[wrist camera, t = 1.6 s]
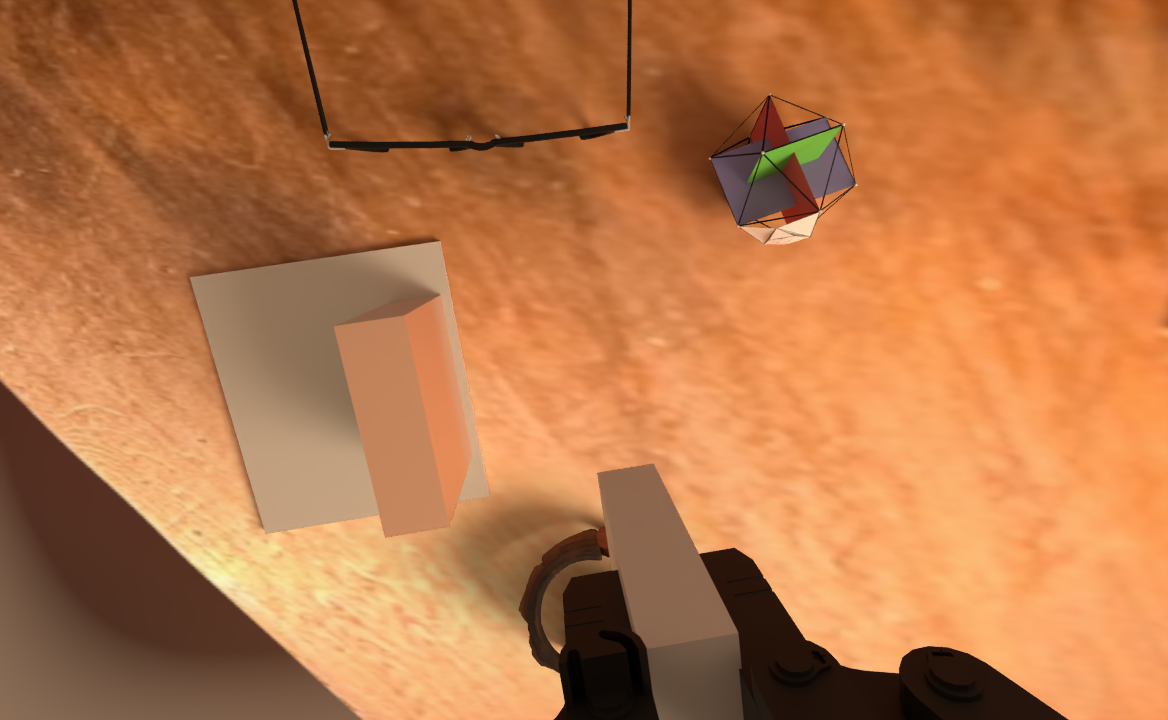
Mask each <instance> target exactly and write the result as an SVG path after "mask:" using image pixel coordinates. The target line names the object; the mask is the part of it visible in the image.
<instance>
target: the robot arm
mask: <svg viewBox="0 0 1168 720" xmlns="http://www.w3.org/2000/svg"><path fill="white" fill-rule="evenodd" d="M597 474H598V481H599V488H600V495H601V502H602V508H603V515H604V522H605V529H606V536H607V542H608V549H609V556H610V563H611V568H612V571H607V572H601V573H596V574H590V575H584V576H578V577H572V578H571V580H570V582H569V584H568V585H567V587H566V589H565V591H564V593H563V605H564V621H565V637H566V645H565V646H564V647H563V649H562V650H561V652H560V657H559V662H558V666H559V672H560V677H561V683H562V688H563V694H564V700H565V704H564V707H563V708H562V710H561V711H560V713H559V714H558V716H557V717H556V718H555V719H554V720H1068V719H1067V718H1065V717H1064V716H1062V715H1061V714H1059V713H1058V712H1056V711H1055V710H1053V709H1052V708H1051V707H1049V706H1048V705H1046V704H1045V703H1043V702H1042V701H1040V700H1039V699H1038V698H1036V697H1035V696H1033V695H1032V694H1030V693H1029V692H1027V691H1026V690H1024V689H1023V688H1022V687H1020V686H1019V685H1017V684H1016V683H1014V682H1013V681H1011V680H1010V679H1009V678H1007V677H1006V676H1004V675H1003V674H1001V673H1000V672H998V671H997V670H996V669H994V668H993V667H991V666H990V665H988V664H987V663H985V662H983V661H981V660H979V659H977V658H975V657H974V656H972V655H970V654H968V653H964V652H961V651H958V650H954V649H951V648H947V647H933V646H927V647H923V648H918V649H913V650H912V651H910V652H909V653H908V654H906V655H905V656H904V657H902V661H901V664H900V667H899V674H898V673H886V672H874V671H863V670H857V669H851V668H848V667H845V666H842V665H840V664H839V663H838V661H837V660H836V659H835V658H834V657H833V656H832V655H831V654H830V653H829V652H828V651H827V650H826V649H824V648H822V647H820V646H819V645H817V644H815V643H813V642H811V641H807V640H805V638H804V637H803V635H802V634H801V632H800V631H799V629H798V628H797V626H796V625H795V623H794V622H793V620H792V618H791V617H790V615H789V614H788V612H787V611H786V609H785V608H784V606H783V605H782V603H781V602H780V600H779V599H778V597H777V596H776V594H775V593H774V592H772V588H771V587H770V585H769V584H768V582H767V581H766V579H764V578H763V575H762V573H761V572H760V570H759V569H758V567H757V565H756V564H755V562H754V561H753V560H752V559H751V558H749V557H748V556H746V555H745V554H743V553H742V552H740V551H738V550H737V549H735V548H731V549H725V550H719V551H713V552H707V553H702V554H699V553H698V551H697V549H696V547H695V545H694V543H693V541H692V539H691V537H690V535H689V533H688V531H687V529H686V527H685V525H684V523H683V521H682V519H681V517H680V515H679V513H678V511H677V509H676V507H675V505H674V503H673V501H672V499H671V497H670V495H669V493H668V491H667V489H666V487H665V486H664V484H663V482H662V480H661V478H660V476H659V474H658V472H657V470H656V468H655V466H654V464H648V465H642V466H636V467H630V468H624V469H618V470H612V471H606V472H600V473H597Z"/></svg>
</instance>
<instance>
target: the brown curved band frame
mask: <svg viewBox="0 0 1168 720" xmlns="http://www.w3.org/2000/svg"><path fill="white" fill-rule="evenodd" d="M602 555H604V556H606V557H609V558H610V556H609V549H608V542H607V536H606V529H605V528H600V530H599V531H597V530H595V529H589V530H586V531H583V532H581V533H578V534H576V535H573V536H571V537H569V538H567V539H565V540H563V541H561V542H560V543H558V544H557V545H555V546H554V547H553V548H552V549H550V550H549V551H548V552H546V553H545V554H544V555H543V557H542V561H543V562H542V563H541V564H540V565H537V566H536V567H535V568H534V569H533V571H532V574H531V575H530V578H529V581H528V584H527V586H526V590H525V593H524V595H523V598H522V601H521V602H520V607H519V611H520V612H521V615H522V617H523V618H524V620H525V621H526V622H527V623H528V630H529V634H530V636H529V644H530V647H531V649H532V655H533V657H534V658H535V659H536V661H537V662H538V663H539V664H540V665H541V666H545V667H547V668H550V669H553V670H555V671H556V672H558V673H560V672H559V666H558V662H559V657H560V654H559V653H558V652H557V651H556V650H555V649H554V648H553V647H552V645H551V644H550V642H549V641H548V639H547V637H546V635H545V633H544V631H543V627H542V624H541V603H542V598H543V595H544V592H545V590H546V588H547V586H548V584H549V583H550V581H551V580H552V579H553V578H554V577H555V575H556V574H557V573H559V572H560V571H561V570H562V569H564V568H565V567H567V566H569V565H570V564H573V563H575V562H579V561H584V560H602Z"/></svg>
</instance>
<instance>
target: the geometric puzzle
mask: <svg viewBox="0 0 1168 720" xmlns="http://www.w3.org/2000/svg"><path fill="white" fill-rule="evenodd" d="M770 96H772V95H771V93H769V94H768V98H767V100H766V102H765V104H764V106H763V108H762V111H761V113H760V115H759V117H758V119H757V122H756V124H755V126H754V128H753V130H752V132H751V135H750V136H749V137H748V138H746V139H744V140H742V141H740V142H738V143H736V144H735V145H733V146H731V147H729V148H727V149H725V150H723V151H721V152H719V153H717V154H715V153H716V152H717V151H718V150H717V151H716V152H715V153H714V154H715V155H714V154H713V155H714V156H713V155H712V156H711V157H709V160H711V162H712V164H713V167H714V169H715V172H716V174H717V177H718V179H719V182H720V184H721V186H722V189H723V191H724V194H725V196H726V199H727V201H728V204H729V206H730V208H731V211H732V213H733V216H734V218H735V221H736V223H737V226H736V227H737V228H738V227H740V228H741V229H743V230H744V231H745V232H747V233H748V234H750V235H751V236H753V237H754V238H756V239H757V240H759V241H760V242H761V243H763V244H789V243H792V242H795V241H799V240H802V239H805V238H808V237H810V236H811V234H812V231H813V229H814V226H815V224H816V221H817V219H818V218H819V217H820V216H821V215H820V216H819V213H821V212H822V210H823V209H824V208H826V207H827V206H828V205H830V204H831V203H832V202H834V201H835V200H836V199H838V198H839V197H840V196H842V195H843V194H844V193H845V194H846V193H847V192H848V191H849V190H850V189H852V188H853V187H854V186H857V183H855V181H854V180H855V178H854V179H853V176H854V173H853V176H852V174H851V172H850V170H849V168H848V165H847V163H846V161H845V159H844V156H843V154H842V152H841V150H840V147H839V141H840V137H841V134H842V130H843V127H844V126H845V123H842V124H841V123H839V122H837V123H839V124H841V125H838V126H835V127H832V128H831V127H830V125H829V123H828V121H827V119H829V118H827V116H825V117H824V116H822V115H819V114H817V113H815V114H817V115H819V116H822V117H823V118H819V119H815V120H811V121H807V122H804V123H800V124H796V125H792V126H788V127H783V125H782V122H781V120H780V118H779V115H778V113H777V111H776V108H775V106H774V104H773V101H772V99H771V97H770ZM773 97H775V96H773ZM775 98H777V97H775ZM778 99H780V98H778ZM780 100H782V99H780ZM782 101H785V100H782ZM763 102H764V101H763ZM763 102H762V103H763ZM785 102H787V101H785ZM762 103H761V104H762ZM787 103H789V102H787ZM761 104H760V105H761ZM790 104H792V103H790ZM760 105H759V106H760ZM792 105H794V104H792ZM759 106H758V107H759ZM795 106H797V105H795ZM758 107H757V108H758ZM797 107H799V106H797ZM757 108H756V109H757ZM800 108H802V107H800ZM756 109H755V110H756ZM802 109H804V108H802ZM755 110H754V111H755ZM805 110H807V109H805ZM754 111H753V112H754ZM807 111H809V110H807ZM810 112H812V111H810ZM812 113H814V112H812ZM748 118H749V117H748ZM748 118H747V119H748ZM747 119H746V120H747ZM746 120H745V121H746ZM829 120H832V119H829ZM745 121H744V122H745ZM832 121H834V120H832ZM744 122H743V123H744ZM834 122H836V121H834ZM743 123H742V124H743ZM806 123H808V124H806ZM742 124H741V125H742ZM802 124H805V125H802ZM741 125H740V126H741ZM799 125H802V126H799ZM740 126H739V127H740ZM795 126H799V127H796V128H793V129H791V130H788V131H785V129H787V128H791V127H795ZM739 127H738V128H739ZM841 127H842V129H841V133H840V136H839V140H838V143H837V141H836V138H835V135H836V134H837V133H838V131H839V130H840V128H841ZM844 132H845V129H844ZM733 134H734V133H733ZM733 134H732V135H733ZM732 135H731V136H732ZM731 136H730V137H731ZM730 137H729V138H730ZM845 137H846V134H845ZM729 138H728V139H729ZM728 139H727V140H728ZM747 139H749V141H748V145H745V146H742V147H740V148H737V149H734V150H731V151H728V152H725V153H723V154H721V153H722V152H724V151H726V150H728V149H730V148H732V147H734V146H736V145H738V144H740V143H741V142H743V141H745V140H747ZM750 139H751V141H752V143H751V144H749V143H750ZM727 140H726V141H727ZM726 141H725V142H726ZM725 142H724V143H725ZM846 142H847V139H846ZM724 143H723V144H724ZM847 147H848V144H847ZM848 152H849V149H848ZM719 154H720V155H719ZM849 156H850V153H849ZM850 161H851V158H850ZM851 166H852V163H851ZM852 171H853V168H852ZM850 186H852V187H851V188H849V189H848V190H847V191H845V192H844V193H843V194H841V195H840V196H839V197H838V198H836V199H835V200H834V201H832V202H831V203H830V204H828V205H827V206H826V207H824V208H823V209H822V210H821V208H822V205H823V201H824V197H825V195H828V194H831V193H833V192H836V191H839V190H842V189H845V188H848V187H850ZM845 194H844V195H845ZM844 195H843V196H844ZM822 196H823V200H822V204H821V207H820V210H819V208H818V205H817V203H816V201H815V199H816V198H819V197H822ZM843 196H842V197H843ZM839 199H840V198H839ZM839 199H838V200H839ZM838 200H837V201H838ZM837 201H836V202H837ZM836 202H835V203H836ZM835 203H834V204H835ZM834 204H833V205H834ZM833 205H832V206H833ZM830 207H831V206H830ZM830 207H829V208H830ZM829 208H828V209H829ZM828 209H827V210H828ZM827 210H826V211H827ZM780 211H781V212H782V214H783V216H784V217H782V218H777V219H771V220H766V221H760V222H759V221H757V219H760V218H762V217H765V216H768V215H771V214H774V213H777V212H780ZM826 211H825V212H826ZM825 212H824V213H825ZM824 213H823V214H824ZM818 216H819V217H818ZM778 219H785V221H786V223H787V224H786V225H783V226H781V227H778V228H771V227H769V226H767V225H765V224H763V223H761V222H767V221H772V220H778ZM754 220H755V221H757V222H754V223H749V224H745V223H748V222H751V221H754ZM755 223H761V224H763V225H765V226H767V227H769V228H764V227H744V225H750V224H755Z"/></svg>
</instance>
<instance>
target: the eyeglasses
mask: <svg viewBox="0 0 1168 720" xmlns="http://www.w3.org/2000/svg"><path fill="white" fill-rule="evenodd" d="M292 1H293V5H294V10H295V14H296V18H297V23H298V27H299V31H300V36H301V40H302V44H303V49H304V53H305V57H306V61H307V66H308V70H309V74H310V78H311V82H312V87H313V91H314V95H315V99H316V103H317V108H318V112H319V116H320V120H321V124H322V128H323V133H324V138H325V140H326V142H327V145H328V149H330V150H345V149H349V150H359V151H370V152H388V151H389V148H449V149H450V151H461V150H467V149H470V148H471V149H474V150H479V151H483V150H488V149H490V148H493V147H494V146H495V147H523V146H524V142H533V141H541V140H549V139H557V138H565V137H574V136H579V137H580V139H581V140H585V139H592V138H596V137H600V136H604V135H607V134H611V133H614V132H622V131H629V130H630V119H631V118H630V107H631V19H632V0H628V52H627V114H626V115H625V116H624V118H625V119H626V121H627V122H628V124H627V123H620V124H613V125H606V126H599V127H592V128H585V129H577V130H569V131H560V132H552V133H544V134H537V135H528V136H518V137H508V138H501V137H500V136H499V135H496V134H495V137H496V139H493V140H491V141H490V142H486V143H475V142H473V141H470V139H471V135H469V136H468V135H467V137H466V139H465V141H436V142H345V141H330V142H329V140H330V137H331V136H332V135H331V134H330V133H329V132H328V128H327V124H326V120H325V116H324V111H323V107H322V103H321V99H320V95H319V91H318V87H317V83H316V79H315V74H314V70H313V66H312V62H311V58H310V54H309V50H308V46H307V42H306V37H305V33H304V29H303V25H302V21H301V17H300V13H299V8H298V4H297V0H292Z"/></svg>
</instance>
